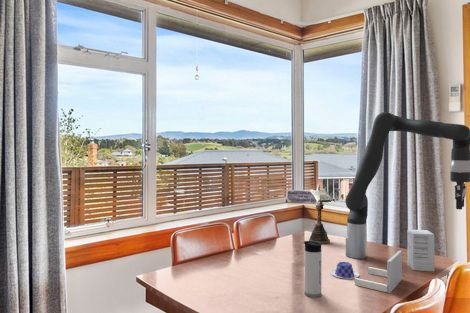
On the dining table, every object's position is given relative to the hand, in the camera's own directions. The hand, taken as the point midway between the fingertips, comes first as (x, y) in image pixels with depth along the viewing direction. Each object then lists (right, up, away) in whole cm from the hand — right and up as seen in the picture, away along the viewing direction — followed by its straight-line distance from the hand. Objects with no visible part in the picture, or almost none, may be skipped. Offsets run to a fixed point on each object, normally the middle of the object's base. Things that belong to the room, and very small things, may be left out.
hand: (460, 208), depth 154 cm
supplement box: (-12, -29, +10) cm, 33 cm away
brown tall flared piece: (-46, -29, +55) cm, 77 cm away
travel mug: (-69, -30, -20) cm, 78 cm away
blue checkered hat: (-50, -30, +1) cm, 58 cm away
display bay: (-39, -30, -8) cm, 49 cm away
